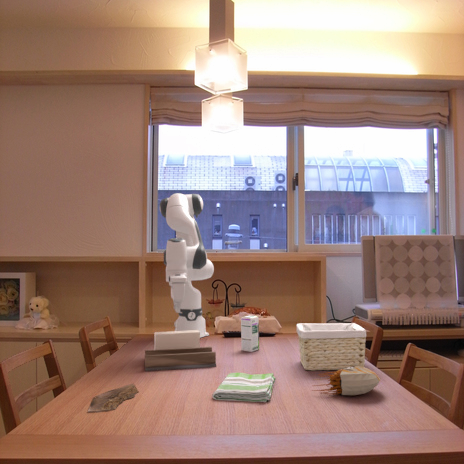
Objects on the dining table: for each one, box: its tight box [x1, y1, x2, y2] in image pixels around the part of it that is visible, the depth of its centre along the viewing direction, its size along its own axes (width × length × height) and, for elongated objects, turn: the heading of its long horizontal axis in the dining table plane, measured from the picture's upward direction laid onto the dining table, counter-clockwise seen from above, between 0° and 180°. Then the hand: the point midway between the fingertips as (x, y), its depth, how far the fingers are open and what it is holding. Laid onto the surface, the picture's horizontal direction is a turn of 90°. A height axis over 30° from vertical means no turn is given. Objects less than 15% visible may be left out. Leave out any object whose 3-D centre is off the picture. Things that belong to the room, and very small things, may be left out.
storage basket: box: [296, 322, 367, 372], centre depth 162 cm, size 24×16×15 cm
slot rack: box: [144, 346, 217, 372], centre depth 164 cm, size 12×26×5 cm, turn 102°
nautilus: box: [311, 366, 381, 397], centre depth 131 cm, size 8×22×15 cm
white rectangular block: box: [153, 330, 201, 350], centre depth 177 cm, size 5×18×10 cm, turn 104°
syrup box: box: [240, 315, 260, 353], centre depth 187 cm, size 6×6×14 cm
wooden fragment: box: [86, 383, 140, 414], centre depth 128 cm, size 26×11×1 cm, turn 164°
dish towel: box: [211, 372, 276, 403], centre depth 135 cm, size 17×23×4 cm
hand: (176, 310), depth 177 cm, fingers open, 8 cm apart
